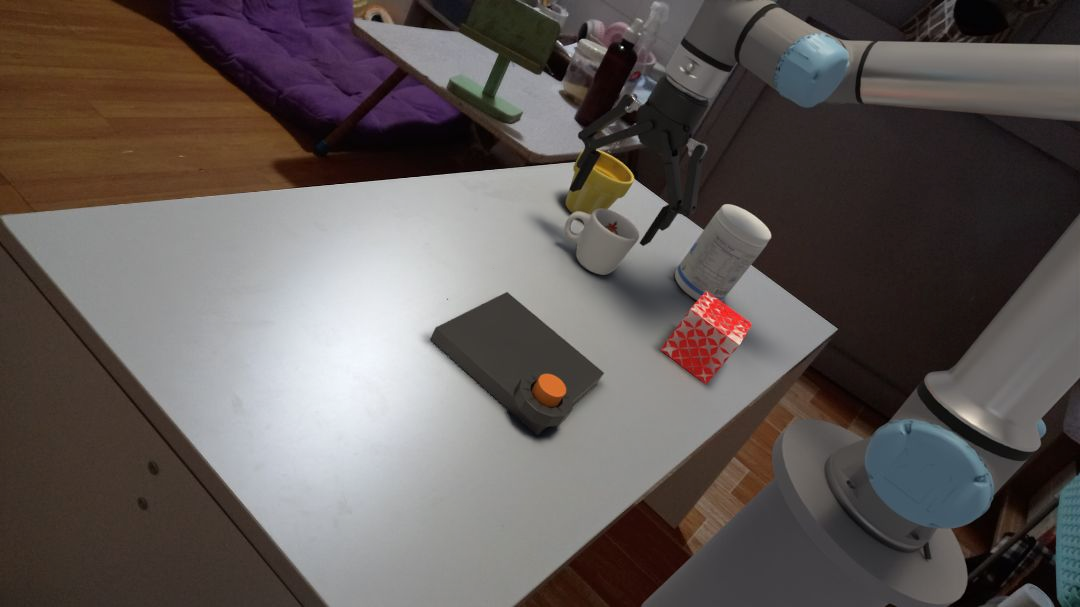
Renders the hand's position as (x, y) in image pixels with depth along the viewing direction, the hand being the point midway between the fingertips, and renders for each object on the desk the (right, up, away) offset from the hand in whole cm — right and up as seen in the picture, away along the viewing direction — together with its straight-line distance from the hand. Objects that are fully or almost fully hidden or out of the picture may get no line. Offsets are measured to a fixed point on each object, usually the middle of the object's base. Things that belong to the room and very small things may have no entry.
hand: (609, 215), depth 97 cm
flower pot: (-3, +3, +18) cm, 19 cm away
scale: (-13, -20, -22) cm, 32 cm away
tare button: (-10, -23, -29) cm, 38 cm away
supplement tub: (+17, -11, +14) cm, 24 cm away
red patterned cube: (+11, -21, -3) cm, 24 cm away
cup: (-3, -7, +5) cm, 9 cm away
